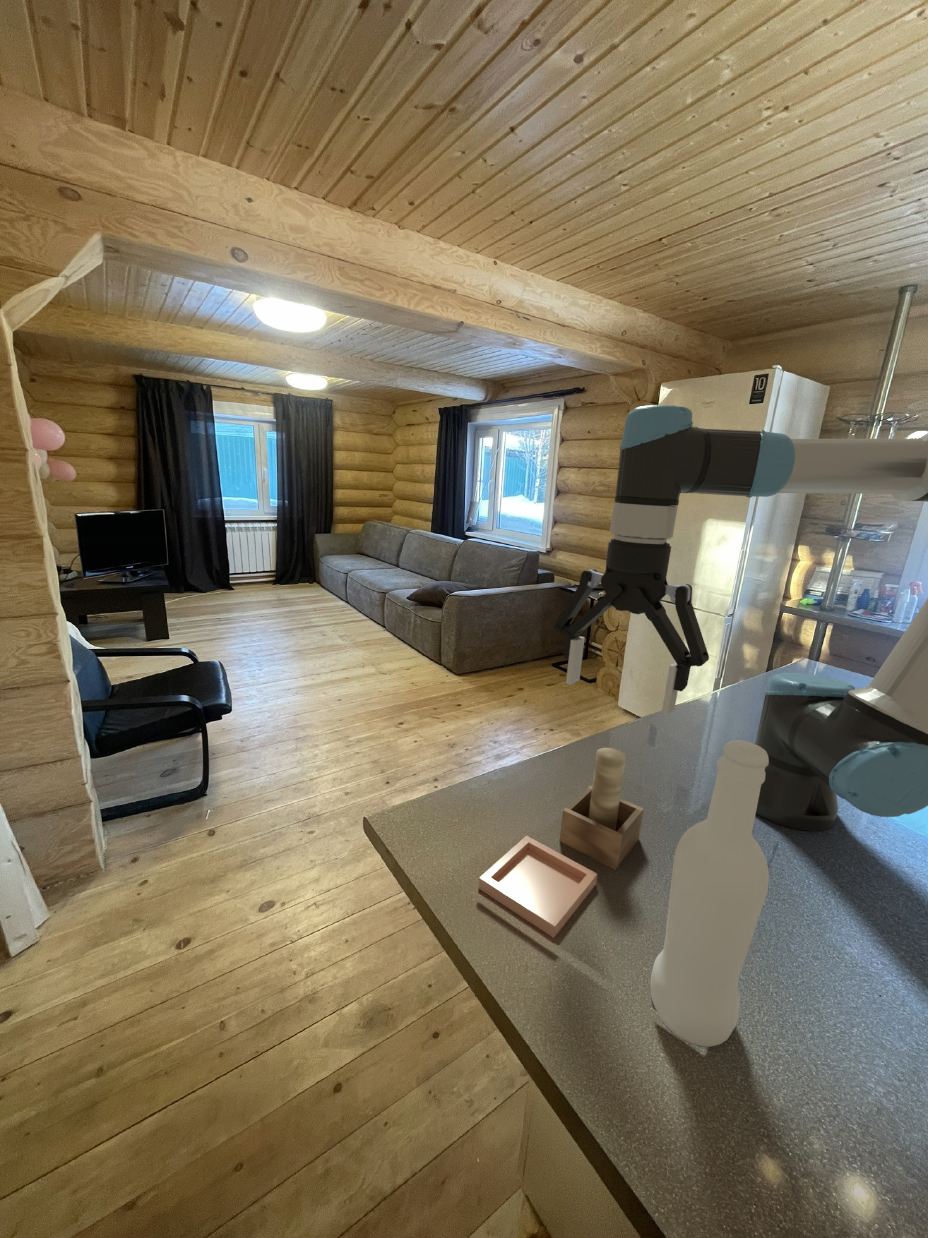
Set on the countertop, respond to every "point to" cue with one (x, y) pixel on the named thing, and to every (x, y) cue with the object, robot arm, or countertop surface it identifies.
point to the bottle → (713, 905)
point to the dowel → (607, 787)
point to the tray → (538, 885)
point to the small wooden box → (601, 830)
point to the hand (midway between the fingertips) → (617, 696)
